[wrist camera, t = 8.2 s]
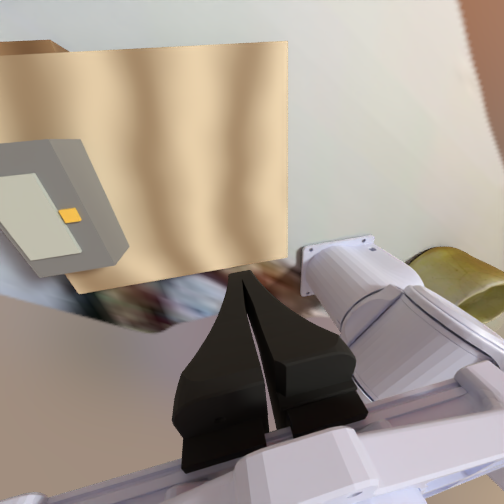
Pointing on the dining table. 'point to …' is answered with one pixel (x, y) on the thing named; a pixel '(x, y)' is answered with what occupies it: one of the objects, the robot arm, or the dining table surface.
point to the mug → (463, 281)
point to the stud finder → (57, 208)
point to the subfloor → (166, 147)
